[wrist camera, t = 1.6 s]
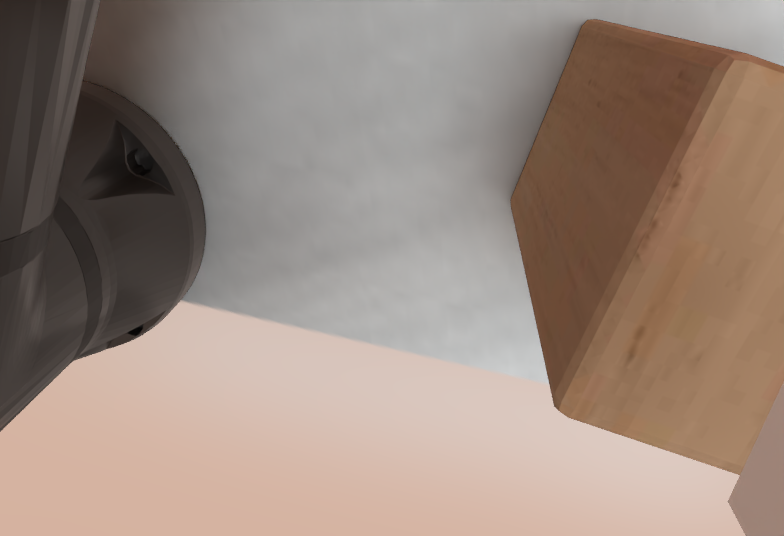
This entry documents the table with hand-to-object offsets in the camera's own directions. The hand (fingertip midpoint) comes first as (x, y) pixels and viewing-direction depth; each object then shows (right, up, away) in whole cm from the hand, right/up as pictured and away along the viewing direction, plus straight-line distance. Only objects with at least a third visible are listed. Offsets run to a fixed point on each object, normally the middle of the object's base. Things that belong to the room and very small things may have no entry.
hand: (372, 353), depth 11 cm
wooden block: (+13, +8, +25) cm, 29 cm away
